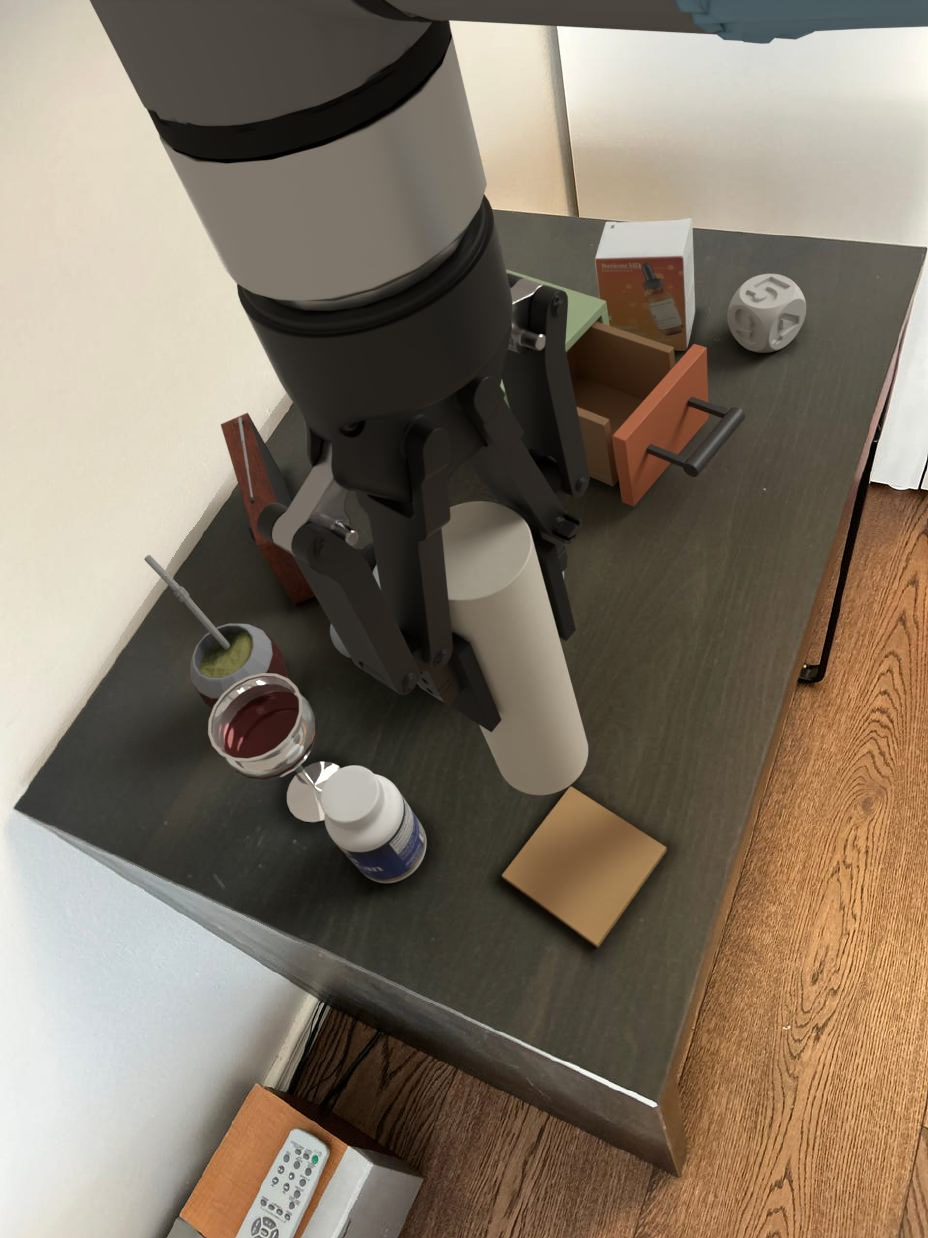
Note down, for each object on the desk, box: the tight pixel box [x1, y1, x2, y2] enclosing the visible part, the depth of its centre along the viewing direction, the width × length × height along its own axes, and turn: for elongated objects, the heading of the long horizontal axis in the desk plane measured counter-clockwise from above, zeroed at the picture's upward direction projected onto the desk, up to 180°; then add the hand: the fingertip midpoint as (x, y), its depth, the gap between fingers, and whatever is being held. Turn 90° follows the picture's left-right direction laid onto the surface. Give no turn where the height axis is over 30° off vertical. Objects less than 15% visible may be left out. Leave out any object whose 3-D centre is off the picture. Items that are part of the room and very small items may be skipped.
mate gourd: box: [143, 554, 289, 710], centre depth 74 cm, size 8×8×15 cm
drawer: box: [566, 321, 746, 507], centre depth 82 cm, size 18×12×8 cm, turn 50°
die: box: [726, 273, 807, 354], centre depth 88 cm, size 5×5×5 cm
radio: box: [220, 412, 316, 606], centre depth 83 cm, size 19×3×15 cm, turn 20°
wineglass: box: [207, 673, 342, 823], centre depth 69 cm, size 7×7×12 cm
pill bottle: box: [320, 764, 427, 884], centre depth 66 cm, size 5×5×10 cm
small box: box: [594, 217, 696, 352], centre depth 90 cm, size 8×6×10 cm
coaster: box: [501, 785, 668, 948], centre depth 66 cm, size 8×8×1 cm
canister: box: [442, 500, 589, 796], centre depth 45 cm, size 5×5×18 cm
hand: (511, 666), depth 45 cm, fingers closed on canister, 5 cm apart
